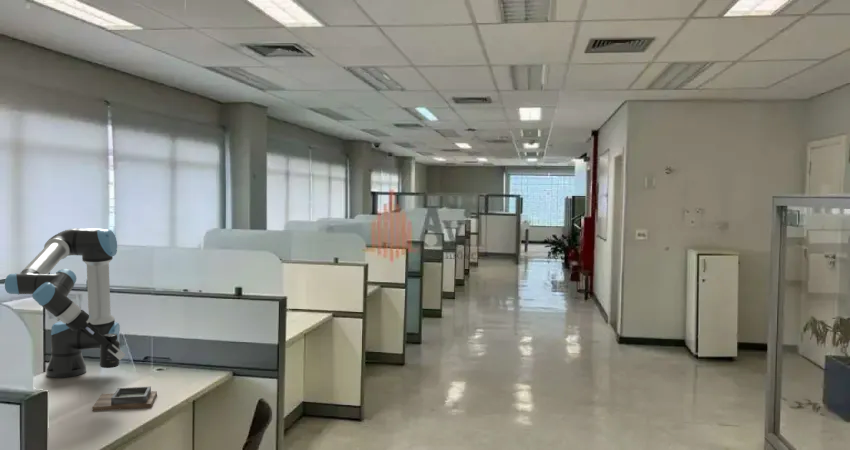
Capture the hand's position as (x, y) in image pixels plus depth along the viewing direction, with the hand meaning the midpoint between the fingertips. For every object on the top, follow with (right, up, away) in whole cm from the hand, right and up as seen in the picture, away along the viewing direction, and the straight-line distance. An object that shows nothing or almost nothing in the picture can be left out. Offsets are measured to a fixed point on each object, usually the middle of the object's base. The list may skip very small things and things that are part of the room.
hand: (120, 355), depth 238 cm
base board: (+2, -18, +1) cm, 19 cm away
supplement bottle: (-3, -4, -2) cm, 5 cm away
